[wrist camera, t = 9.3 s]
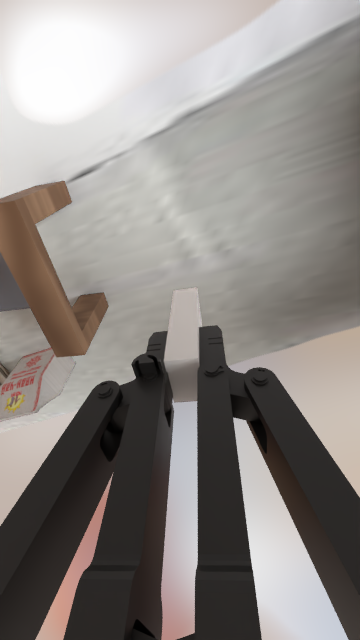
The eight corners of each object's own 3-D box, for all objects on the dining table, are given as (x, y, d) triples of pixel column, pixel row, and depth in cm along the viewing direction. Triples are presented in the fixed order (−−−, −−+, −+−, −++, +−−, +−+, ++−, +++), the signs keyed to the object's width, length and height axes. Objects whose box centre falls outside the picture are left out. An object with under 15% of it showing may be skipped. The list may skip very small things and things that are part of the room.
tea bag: (75, 363, 41) (46, 421, 33) (38, 373, 43) (1, 432, 35) (61, 344, 40) (25, 401, 31) (23, 356, 41) (-21, 414, 33)
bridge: (64, 180, 28) (14, 200, 20) (108, 306, 36) (84, 354, 28) (36, 185, 28) (-24, 207, 20) (86, 309, 36) (56, 357, 28)
